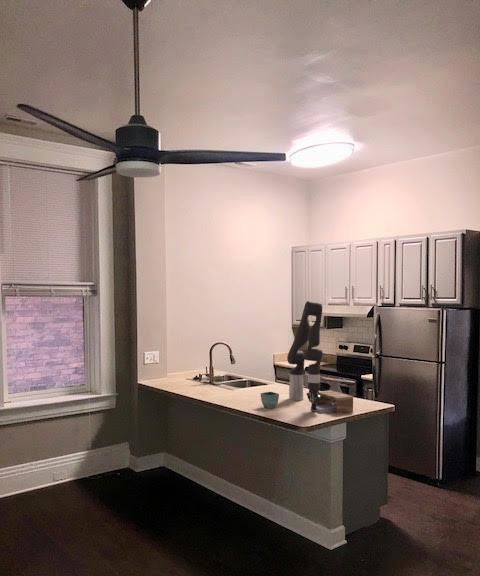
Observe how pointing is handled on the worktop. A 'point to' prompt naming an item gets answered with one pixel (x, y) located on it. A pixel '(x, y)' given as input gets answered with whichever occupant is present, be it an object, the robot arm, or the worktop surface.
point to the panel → (325, 408)
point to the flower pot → (269, 399)
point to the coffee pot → (333, 387)
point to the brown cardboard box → (337, 401)
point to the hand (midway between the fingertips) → (313, 409)
